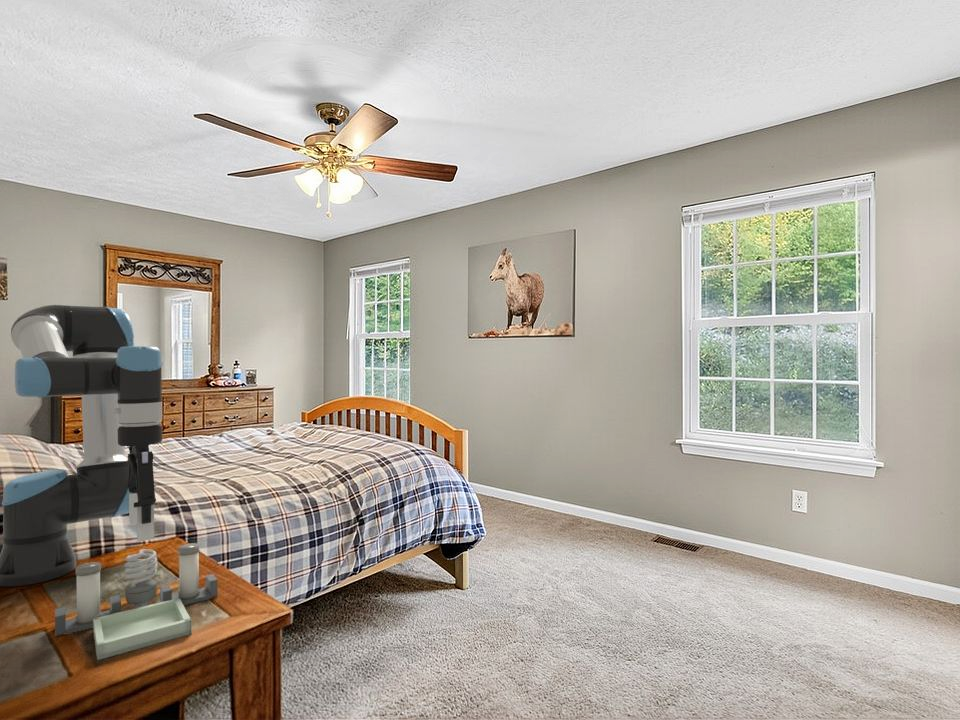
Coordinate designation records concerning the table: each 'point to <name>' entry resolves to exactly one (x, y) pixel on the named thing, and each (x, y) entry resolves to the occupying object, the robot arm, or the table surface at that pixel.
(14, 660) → the table surface
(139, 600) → the light bulb
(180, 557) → the grey capped cylinder
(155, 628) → the tray
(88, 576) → the fuse
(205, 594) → the clip block
